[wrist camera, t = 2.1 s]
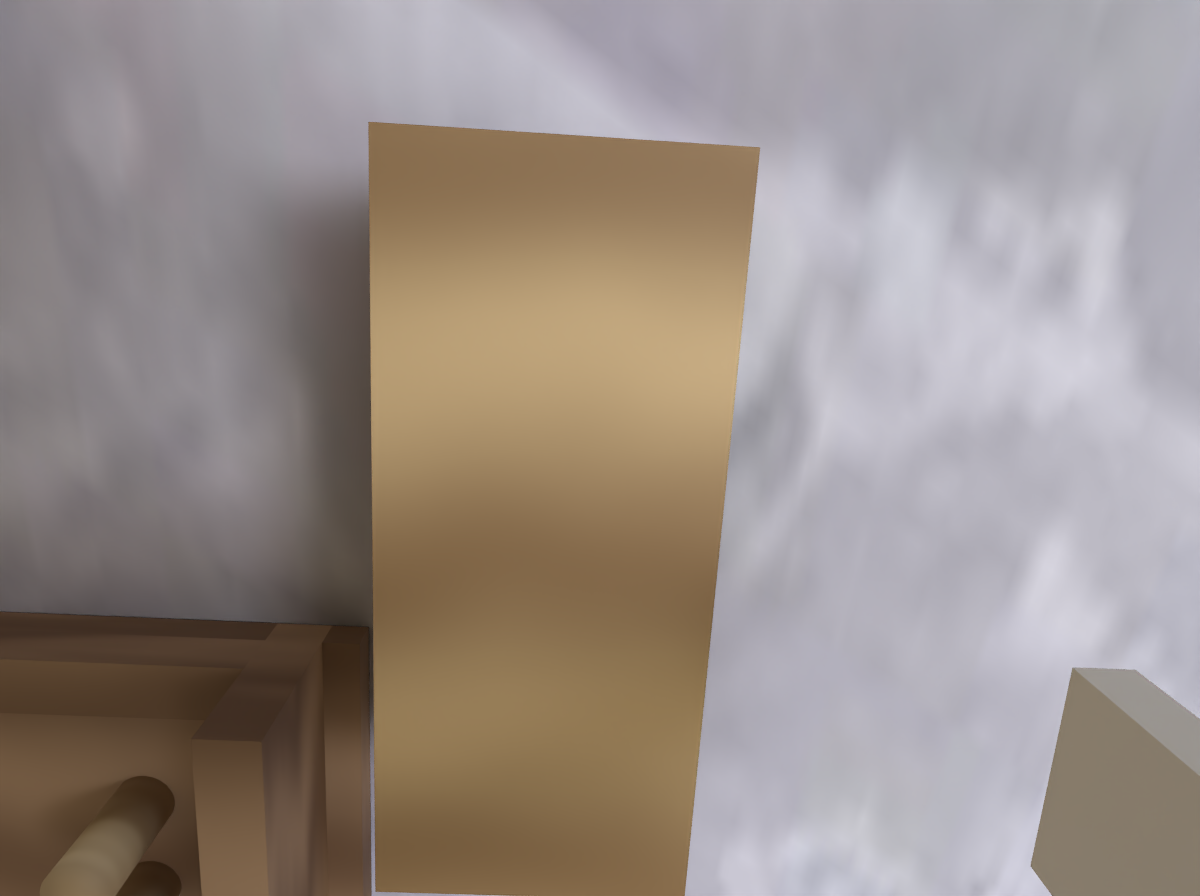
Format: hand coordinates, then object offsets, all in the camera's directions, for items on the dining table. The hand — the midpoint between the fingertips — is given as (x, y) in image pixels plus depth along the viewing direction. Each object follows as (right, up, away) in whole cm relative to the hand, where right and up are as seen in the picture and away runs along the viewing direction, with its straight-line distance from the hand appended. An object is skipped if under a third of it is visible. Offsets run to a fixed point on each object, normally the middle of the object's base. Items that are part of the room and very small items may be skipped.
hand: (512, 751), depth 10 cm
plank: (0, +3, +9) cm, 9 cm away
